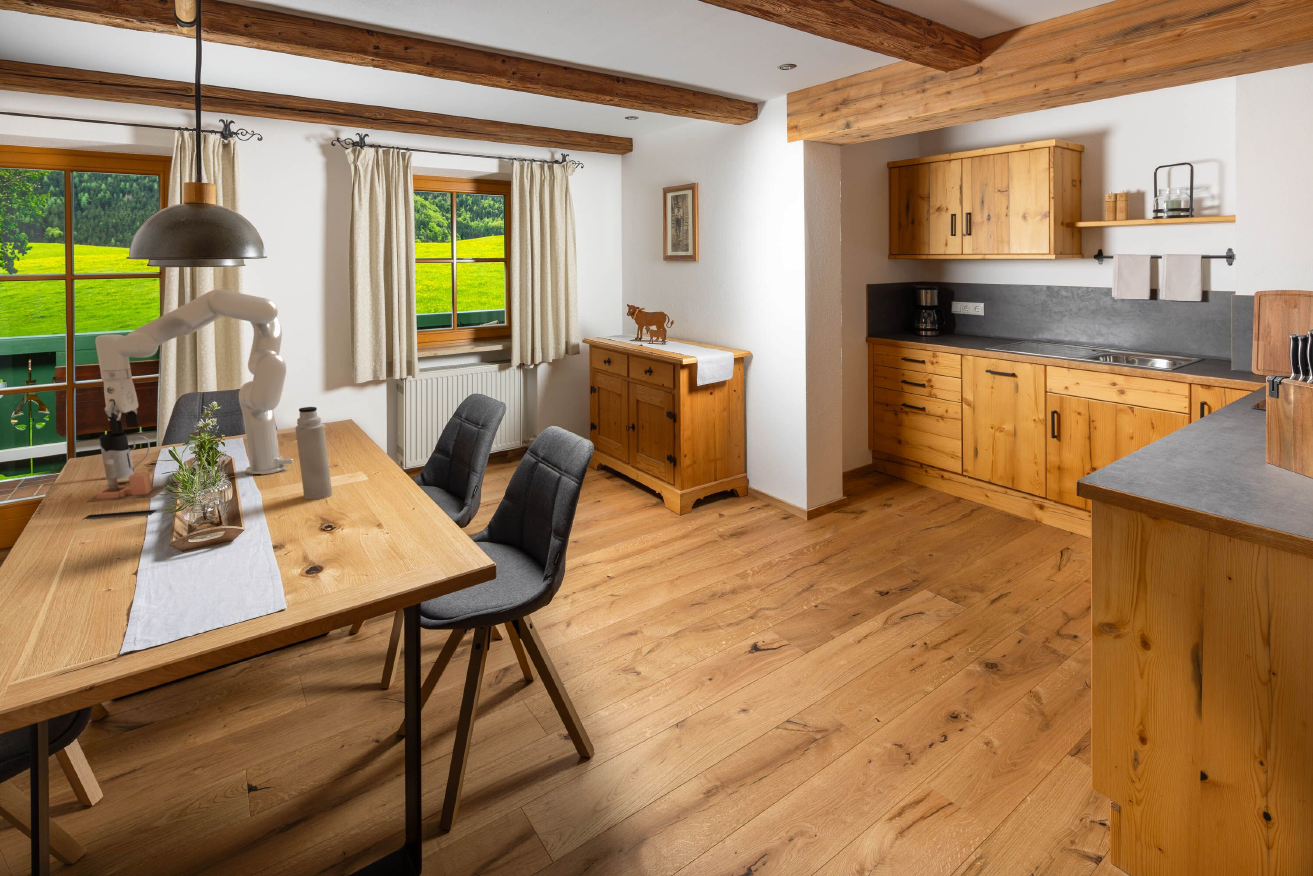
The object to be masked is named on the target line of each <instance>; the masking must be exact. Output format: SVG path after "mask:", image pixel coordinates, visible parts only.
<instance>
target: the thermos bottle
mask: <svg viewBox="0 0 1313 876" xmlns="http://www.w3.org/2000/svg"><path fill="white" fill-rule="evenodd" d="M317 410H318V409H317V407H316V406H306V407H300V408H299V409H298V411H299V417H298V419H297V420H296V424H297V426H295V436H296V442H297V443H296V444H297V450H298V458H299V467H300V473H301V474H300V475H301V482H302V491H303V497H304V499H306V500H321V499H325V498H329V497H330V496H332V494H333V490H332V483H331V482H332V481H331V480H332V479H331V473H330V465H329V456H328V455H329V454H328V448H327V437H326V431H325V424H324V423H322V417H320V416H319V415H318V412H317Z"/></svg>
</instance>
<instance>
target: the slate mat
mask: <svg viewBox="0 0 1313 876" xmlns="http://www.w3.org/2000/svg"><path fill="white" fill-rule="evenodd" d="M155 512H157V509H150V510H139V511H138V510H135V511H123V512H110V513H97V514H96V513H95V514H88V515H86V516H85V517H84V518H82V521H85V520H84V519H93V520H102V519H101V518H106V519H115V518H116V517H118V518H126V517H127V518H130V517H141V516H142V517H143V516H152V514H154V513H155ZM116 519H117V518H116Z"/></svg>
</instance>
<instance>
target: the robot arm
mask: <svg viewBox="0 0 1313 876" xmlns="http://www.w3.org/2000/svg"><path fill="white" fill-rule="evenodd" d="M277 316H278V308H277V306H276V304H275V303H274V302H273V300H270V299H269V298H265V297H260V296H255V295H250V294H247V293H241V292H237V291H232V290H228V289H222V288H220V289H219V288H217V289H212V290H210V291H207V292H206V293H204V294H202V295H200V296H198V297H196V298H195V299H193V300H191V301H189V302H187V303H185V304H183V305H181V306H180V307H178V308H176V309H173V310H171V311H169V312H167V313H165V314H164V315H162V316H159V317H158V318H155V319H153V320H152V321H149V322H147V323H145V324H143V325H142V326H139V327H138V328H136V329H134V330H132V331H131V332H129V333H127V334H126V335H122V334H101V335H100V334H99V335H98V336H96V338H95V339H94V340H95V348H96V352H97V359H98V366H99V369H100V377H101V381H102V382H103V393H104V401H105V407H104V411H105V413H106V417H107V420H108V422H109V427H110V432H111V433H112V434H115V433H125V432H124V424H123V421H122V419H121V417H122V413H123V414H124V417H125V424H126V427H128V428H138V427H140V424H139V417H138V408H139V401H138V396H137V395H138V394H137V391H136V388H135V384H134V382H133V377H132V376H133V375H132V370H131V364H130V358H144V359H145V358H150V357H152V356H154V355H155V354H157V351H158V349H159V346H161V345H162V344H164V343H166V342H169V341H171V340H173V339H175V338H178V337H185V336H188V335H190V334H194V333H195V332H197V331H199V330H201V329H203V328H204V327H207V326H208V325H210V324H211V323H213V322H216V321H217V320H219V319H220V318H222V317H227V318H232V319H236V320H240V321H247V322H249V323H250V324H251V327H252V329H253V339H252V345H251V349H250V353H249V357H248V362H247V368H248V371H249V373H251V375H253V379H252V380H251V381H248V382H245V383H244V384H243V385H242V386H241V387H240V389H239V392H238V401H239V402H238V403H239V405H240V408H241V413H242V417H243V423H244V431H245V432H244V433H245V438H246V445H247V454H248V460H249V466H248V467H246V468H245V473H246V474H248V473H249V474H248V475H253V474H261V475H268V474H269V475H270V474H274V473H278V472H282V471H284V470H286V468H287V465H293V464H294V461H295V460H294V459H293V458H291V457H288V458H285V457H283V455H282V454H280V449H279V441H278V431H277V426H276V425H277V424H276V419H275V418H276V417H275V413H274V410H275V409H276V408H277V407H278V405H279V404H280V401H281V397H282V393H283V388H284V385H285V380H286V375H287V364H286V361H285V360H284V358H283V357H282V356H281V355H280V351H281V343H282V336H283V332H282V326H281V323H280V322H279V319H278V317H277ZM111 433H110V434H111Z"/></svg>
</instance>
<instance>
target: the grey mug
mask: <svg viewBox="0 0 1313 876" xmlns="http://www.w3.org/2000/svg"><path fill="white" fill-rule="evenodd" d="M127 435H128V434H127V433H126V432H123V433H115V434H112V433H107V434H101V435H100V436H99V446H100V451H101V457H102V462H103V463H102V464H104V460H110V459H113V461H114V467H115V472H116V477H117V480H125V479H126V480H127V479H129V476H130V475H132V474H134V473H135V469H136V468H137V466H138V465H140V464H141V463H142V462H143V461H144V460H145V459H146V458H147V457H148V455H149V453H150V445H151V444H150V441H149V439H148V438H147V437H145V436H137V437H135V438H134V440H133V443H132V444H133V447H132V448H130V447H129V442H128V436H127ZM140 438H142V439H145V440H146V442H147V451H146V454H145V455H144V457H143V458H142V459H141V460H140V461H139V462H138V463H137V464H135V466H134V463H133V460H132V453H131V451H133V450H134V449H136V441H137V439H140ZM103 467H104V469H105V466H104V465H103ZM104 471H105V470H104ZM104 473H105V474H106V471H105V472H104ZM104 480H105V481H106V480H107V477H106V476H105V478H104Z"/></svg>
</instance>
